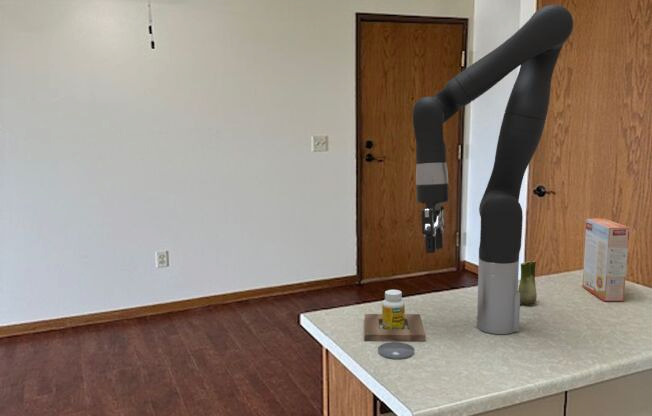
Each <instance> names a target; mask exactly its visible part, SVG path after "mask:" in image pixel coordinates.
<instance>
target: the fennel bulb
mask: <svg viewBox="0 0 652 416" xmlns="http://www.w3.org/2000/svg"><path fill="white" fill-rule="evenodd" d="M536 264H537V262H536V260H528V261H525V262H522V263H520V281H519V284H518V292H519V293H520V305H521V306H531V305H534V304H535V303H536V302H537V288H536Z"/></svg>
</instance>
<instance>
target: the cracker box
mask: <svg viewBox="0 0 652 416" xmlns="http://www.w3.org/2000/svg"><path fill="white" fill-rule="evenodd" d="M585 223H586V225H585V238H584V239H585V240H584V242H585V243H584V255H583V272H582V273H583V274H582V284H581V285H582V288H583V289H585V290H587V292H590V293H591V294H592V295H594V296H595V297H597V298H598V299H600V300H601V301H603V302H624V300H625V293H626V292H625V289H626V288H625V287H626V280H627V279H626V278H627V277H626V275H627V266H628V265H627V262H628V253H629V251H628V249H629V240H630V227H629V226H628V225H624V224H621V223H618V222H616V221H613V220H610V219H608V218H603V217H602V218H601V217H600V218H599V217H598V218H586V222H585Z"/></svg>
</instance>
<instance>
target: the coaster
mask: <svg viewBox="0 0 652 416" xmlns="http://www.w3.org/2000/svg"><path fill="white" fill-rule="evenodd" d="M377 353H378V355H380V356H381V357H383V358H385V359H390V360H405V359H409V358H411V357H413V356H414V355H415V348H414V346H413V345H410V344H409V343H405V342H402V341H388V342H386V343H385V342H384V343H382V344H380V345H379V346H378V347H377Z"/></svg>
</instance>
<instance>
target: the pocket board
mask: <svg viewBox="0 0 652 416" xmlns="http://www.w3.org/2000/svg"><path fill="white" fill-rule="evenodd" d="M380 325H381V326H383V314H382V313H364V329H363V330H364V332H363V333H364V337H363V338H364V339H363V340H364V342H426V332H425V328H424V324H423V320H422V316H421V314H420V313H419V314H418V313H414V314H413V313H411V314H410V313H405V326H406V327H407V328H404V329H383V328H382V329H380Z"/></svg>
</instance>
